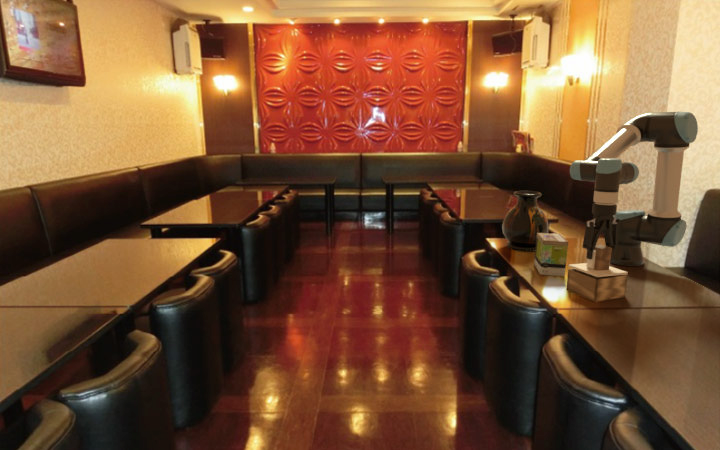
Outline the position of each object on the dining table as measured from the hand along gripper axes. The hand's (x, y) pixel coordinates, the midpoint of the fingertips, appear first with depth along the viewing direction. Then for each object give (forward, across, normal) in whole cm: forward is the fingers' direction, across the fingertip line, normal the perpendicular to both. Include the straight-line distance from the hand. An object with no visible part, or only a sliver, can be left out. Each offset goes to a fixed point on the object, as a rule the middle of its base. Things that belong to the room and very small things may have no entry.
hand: (598, 266), depth 163 cm
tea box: (+10, -4, -28) cm, 30 cm away
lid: (+1, 0, 0) cm, 1 cm away
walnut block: (+1, 0, 0) cm, 1 cm away
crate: (+10, 0, 0) cm, 10 cm away
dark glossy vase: (+10, -18, -61) cm, 64 cm away
